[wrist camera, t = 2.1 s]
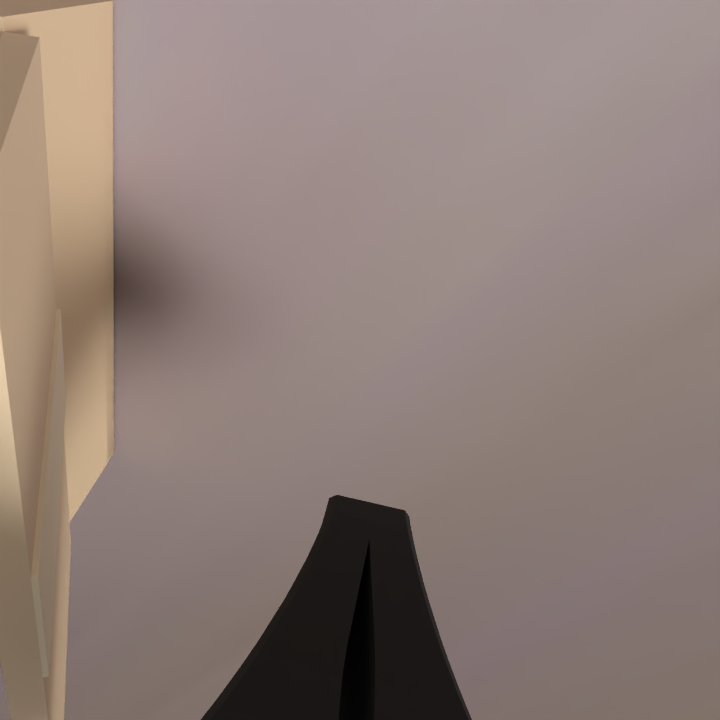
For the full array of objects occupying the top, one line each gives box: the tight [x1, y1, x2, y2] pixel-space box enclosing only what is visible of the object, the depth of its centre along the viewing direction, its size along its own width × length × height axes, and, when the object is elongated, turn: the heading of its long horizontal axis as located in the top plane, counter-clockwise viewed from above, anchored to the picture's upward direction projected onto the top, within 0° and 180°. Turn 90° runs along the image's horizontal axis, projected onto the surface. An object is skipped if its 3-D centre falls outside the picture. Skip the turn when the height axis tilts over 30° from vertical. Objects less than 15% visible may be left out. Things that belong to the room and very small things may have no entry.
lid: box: [0, 32, 71, 720], centre depth 11 cm, size 13×6×1 cm
